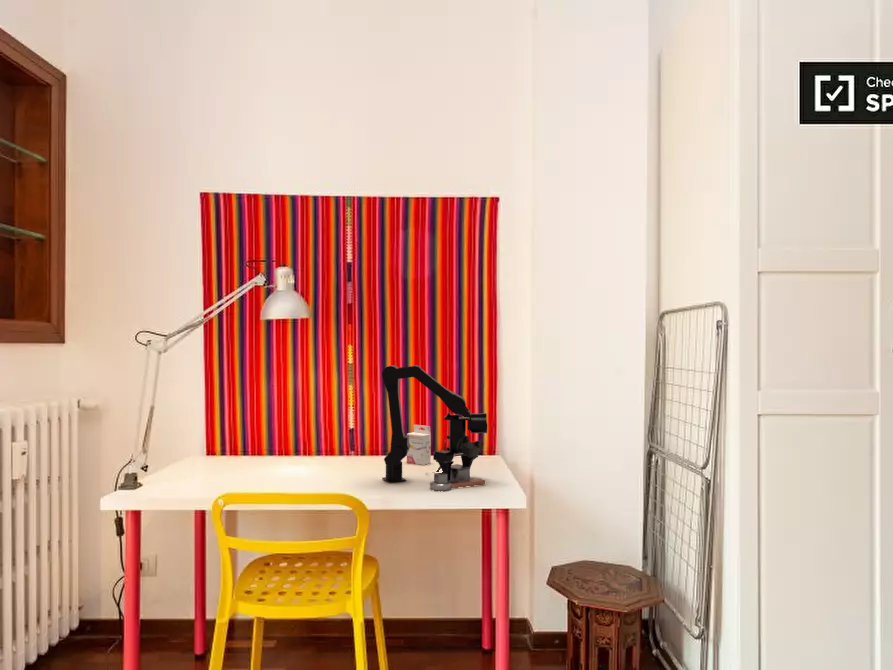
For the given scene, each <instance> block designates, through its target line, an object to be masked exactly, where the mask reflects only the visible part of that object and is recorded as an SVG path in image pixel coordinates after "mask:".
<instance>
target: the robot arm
mask: <svg viewBox="0 0 893 670" xmlns="http://www.w3.org/2000/svg"><path fill="white" fill-rule="evenodd" d="M381 377H382V381H383V384H384V387H385V389H386V390H385V391H386V393H387V399H388V407H389V408H388V409H389V416H390V427H391V440H390V450H389V452H388V453H387V454H386V455H385V457H384V458H383V461H384V464H385V476H384V477H382V478H381V480H382V481H384V482H387V483H388V482H389V483H390V482H391V483H397V482H398V483H399V482H406V481H407V478H404V477H403V461H402V460H404V459H405V458H406V457H407V453H408V451H409V448H410V447H411V445H410V443H409V435H408V436H407V435H406V433H405V431H404V424H403V423H404V422H403V413H402V405H401V398H400V397H401V395H400V388H401V387H400V385H401V380H402V379H407V378H414V379H416V380H417V381H419V383H421V385H423V386H425V387H426V388H427V389H428V390H429V391H431V392H432V393H433V394H435V395H436V396H437V397H438V398H440V400H441V401H442V402H443V404H444V405H445V406H446V407H447V408H448V410H450V412H451V413H453V414H451V413H450V412H447V414H446V415H445V416H444V418H443V420H444V421H449V422H448V423H449V425H448V427H449V428H448V429H449V430H448V433H449V435H446V439H447V440H448V441H449V442H448V443H449V445H448V447H447V446H446V451H444V449H442V450H436V451H434V453H433V454H432V455H433V456H432V457H433V461H435V462H436V463H438V465H439V467H441V469H442V471H443V473H446V474H447V480H448V481H450V476H451V465H454V461H453V459H454V458H455V457H458V456H460V458H461V465H464V466H469V467H470V468H471V466H472V464H473V462H474V460H476V459H477V458H478V457H479V456H480V455H482V454H481V452H482V451H483V449H482V448H483V446H482V445H483V444H482V441H480V440H476V441H470V437H469V435H467V430H468V431H469V432H470V433H471V434H488V420H487V419H488V415H487V413H485V412H481V413H472V412H471V410H470V409H469V408H468V407H467V401H466V399H465V398H464V397H463V396H461V395H459V394H458V393H456V392H454V391H452V390H450V389H448V388H447V387H445V386H444V385H442V384H441V383H440V382H438V381H437V379H435V378H434V377H432V376H431V375H430V374H429V373H427V371H425V370H424V369H422V367H421V366H420V365H417V364H416V365H413V366H402V367H401V366H400V367H398V366H397V365H393V364H392V365H388V366H386V367H385V368H384V369H383V370H382V372H381ZM460 416H461V417H460Z"/></svg>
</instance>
